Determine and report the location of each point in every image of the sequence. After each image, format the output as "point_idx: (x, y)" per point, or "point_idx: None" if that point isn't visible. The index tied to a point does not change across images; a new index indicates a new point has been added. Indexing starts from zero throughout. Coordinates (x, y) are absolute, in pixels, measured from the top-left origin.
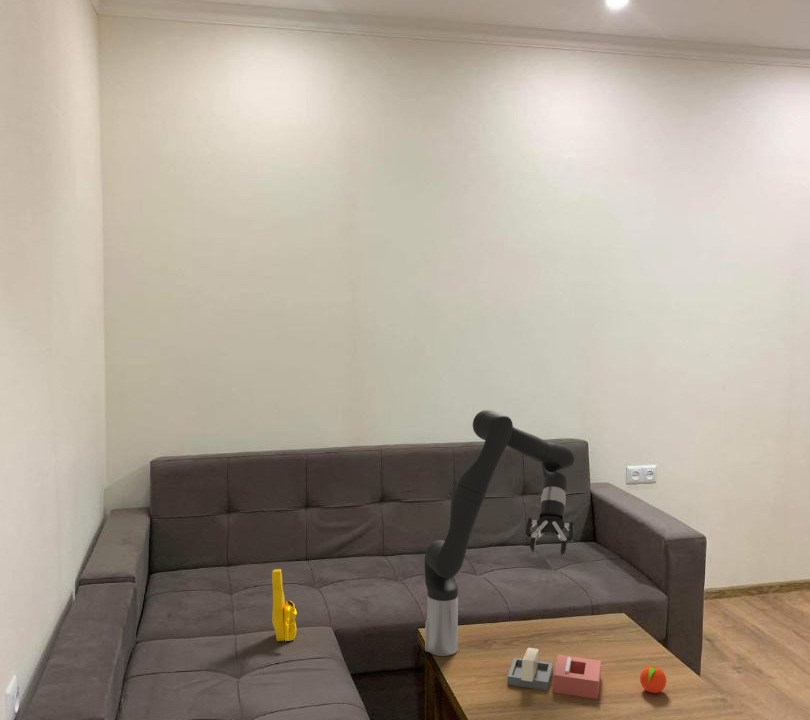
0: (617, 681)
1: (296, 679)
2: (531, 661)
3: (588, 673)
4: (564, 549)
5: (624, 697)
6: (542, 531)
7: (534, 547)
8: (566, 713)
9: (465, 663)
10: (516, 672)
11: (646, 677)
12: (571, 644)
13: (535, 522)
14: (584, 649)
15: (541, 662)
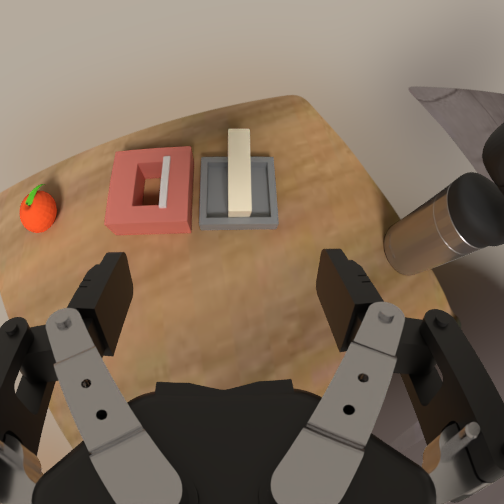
0: (90, 231)
1: (480, 138)
2: (231, 129)
3: (129, 169)
4: (93, 273)
5: (86, 186)
6: (316, 395)
7: (327, 266)
8: (172, 120)
9: (356, 212)
10: (264, 194)
11: (44, 193)
12: (176, 356)
13: (438, 475)
14: (147, 341)
15: (221, 220)
